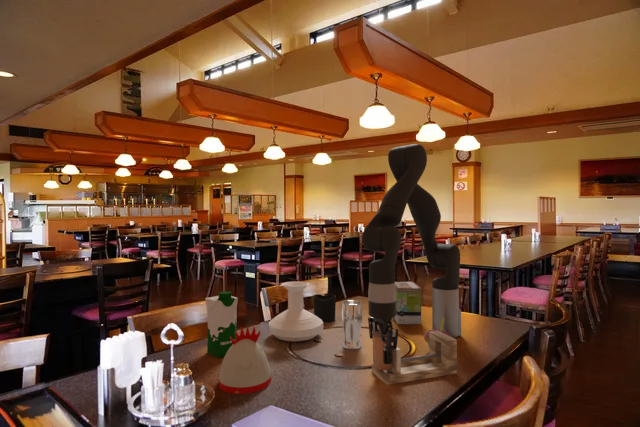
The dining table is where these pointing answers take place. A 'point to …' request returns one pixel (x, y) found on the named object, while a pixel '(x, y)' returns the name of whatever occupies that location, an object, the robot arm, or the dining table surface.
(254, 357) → the kitchen timer
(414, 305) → the tea box
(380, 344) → the jar
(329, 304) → the pen holder
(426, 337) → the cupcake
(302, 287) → the white vase
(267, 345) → the dining table surface
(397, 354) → the pusher
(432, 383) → the dining table surface
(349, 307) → the beer glass
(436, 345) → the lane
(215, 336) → the milk carton
